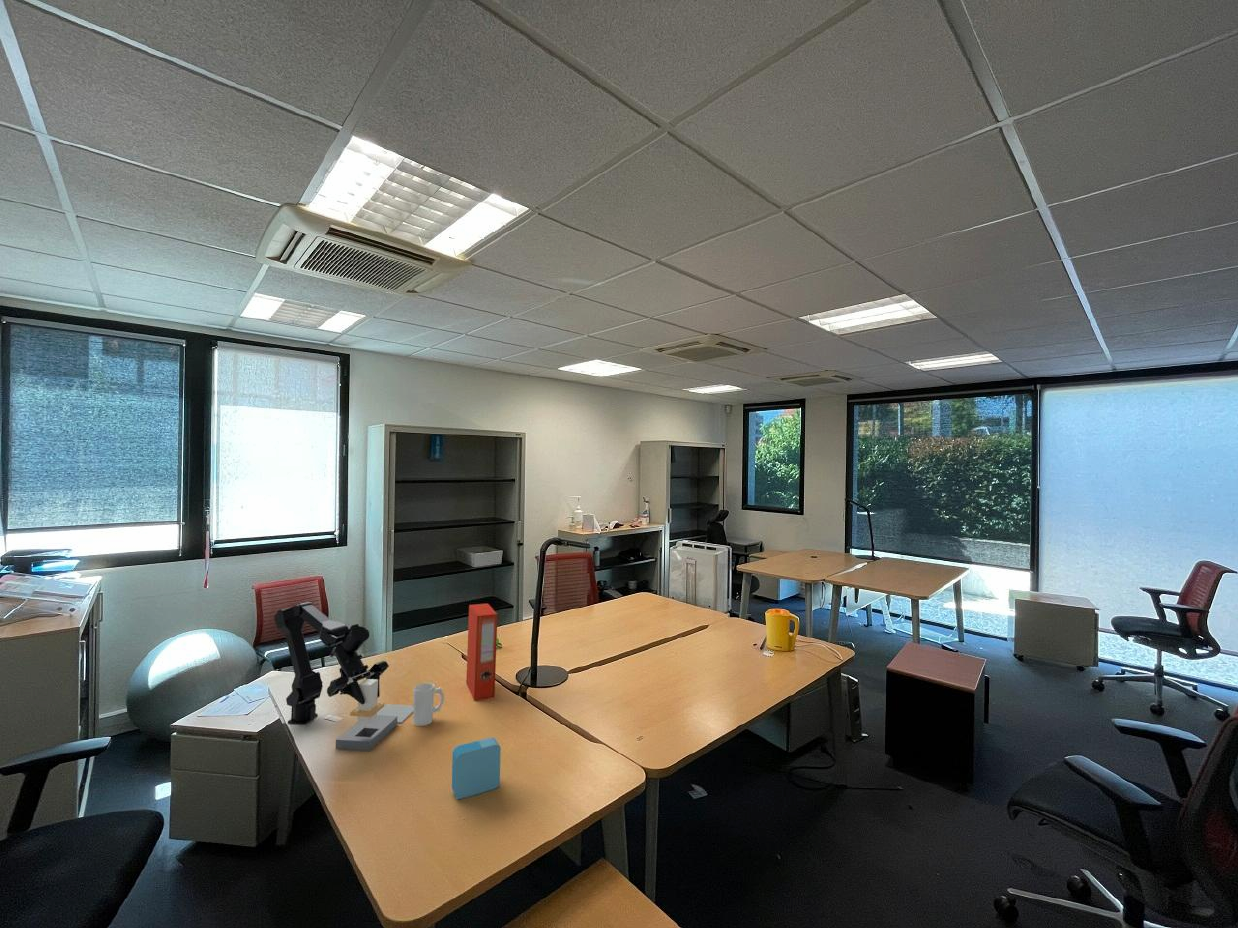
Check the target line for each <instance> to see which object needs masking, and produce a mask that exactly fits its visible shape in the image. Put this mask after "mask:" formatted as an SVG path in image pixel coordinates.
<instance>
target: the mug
mask: <svg viewBox="0 0 1238 928" xmlns="http://www.w3.org/2000/svg"><path fill="white" fill-rule="evenodd" d="M435 686H436V685H435V684H434V683H432V682H422V683H419V684H417V685H415V686H414V687H413V713H412V715H413V717H412V718H413V720H412V721H413V722H412V724H413V725H414V726H417V727H423V726H428V725H429V724H431V723H432V722H433V720H434V714H435V713H436V712H441V708H442V706H443V704H444V700H445V694H444V692H443V690H442V687H437V688H435ZM435 694H439V696H440V702H439V704H438V705H437V706H434V702H435Z"/></svg>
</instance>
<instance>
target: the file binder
mask: <svg viewBox="0 0 1238 928" xmlns="http://www.w3.org/2000/svg"><path fill="white" fill-rule="evenodd" d="M498 616H499V615H498V612H496V611H495V610H494V608H493V607H492V606H491V605H490V603H477V604H469V606H468V627H467V628H468V629H467V650H466V651H467V652H466V653H467V655H466V681H465V683H466V685H467V687H468V690H469V692H470V695H471V697H472V700H473V701H481V700H485V699H492V698H495V694H496V667H497V639H498V638H497V637H498V636H497V635H498Z"/></svg>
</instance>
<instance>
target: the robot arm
mask: <svg viewBox="0 0 1238 928" xmlns="http://www.w3.org/2000/svg"><path fill="white" fill-rule="evenodd" d="M273 619H274V622H275V624H276V627H277V629H278V631H280V632H281V633H282V634H283V635H285V640H286V644H287V646H288V647H287V648H288V651H289V656H290V660H291V664H292V668H293V672H294V678H293V681H292V683H291V690H292V691H291V692H290V694H289V695H288V696H287V697H286V698H285V702H286V705H287V706H289V707H291V714H290V718H291V719H289V720H287V724H296V725H306V724H308V722H310V721H311V720H313V719H314V718H316V717H317V716H318V713H316V712H317V708H316V707H317V705H316V699H319V698H320V697H321V694H322V692H323V691H322V690H323V687H324V685H323V681H322V677H321V673H320V671H317V672H316V671H314V670H313V669H312V666H311V665H312V664H311V661H310V658H309V653H308V649H307V645H306V642H305V639H304V638H305V637H304V634H303V626H304V623H305V622H306V623H307V624H308V625H309V626H311V627H312V628H313V629H314V630H315V631H317V633H319V635H318V637H319V640H320V641H321V642H322V644H323V645H325V646H326V647H332V646H334V645H336V646H335V647H332V648H331V651H330V655H329V657H330V658H333V657H335V658H336V660H337V662H338V664H339V666H340V668H339V673H340V677H338V678H335V679H332V680H331V681H330V683H329V686H328V687H327V688H326V693H327V695H328V697H329V698H331V697H334V696H336V695H338V694H339V695H341V696H342V695H348V696H349V697H352V698H353V699H354V700H356V701H357V703H358V702H359V703H361V704H362V705H363V704H364V703H365V700H364V697H363V694H362V692H361V689H360V687H359V684H360V683H359V682H358V681H360V680H366V679H376V680H378V697H377V699H378V698H379V697H380V696H381V695H380V694H381V693H380V678H381V676H382V675H383V673H385V671H386V670H387V669H388V668H389V667H390V665H389V664H388V662H387V661H386V660H382V661H379V662H376V663H374V664H373V665H372V666H371V667H370V668H369V666H368V664H366V665H364V663H363V661H362V659H363V657H364V656H363V655H362V654H359V653H358V652H357V651H358V650H360V648H361V647H362V646H363V645H364V644H365V643H366V641H367V640H368V639H369V638H370V631H369V629H367V628H366V627H364V626H360V625H359V624H358V623H355V624H352V625H351V626H350V627H349V626H348V625H347V624H345V623H343V622H341V621H336V620H332V619H330V618H329V617H328V616H326V614H324V613H323V612H321V611H320V610H319V609H318V608H317V607H315V606H314V603H313V602H311V601H306V602H301V603H298V604H296V605H294V606H291V607H287V608H281V609H279V610H277V612H276V614H274V618H273Z"/></svg>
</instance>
